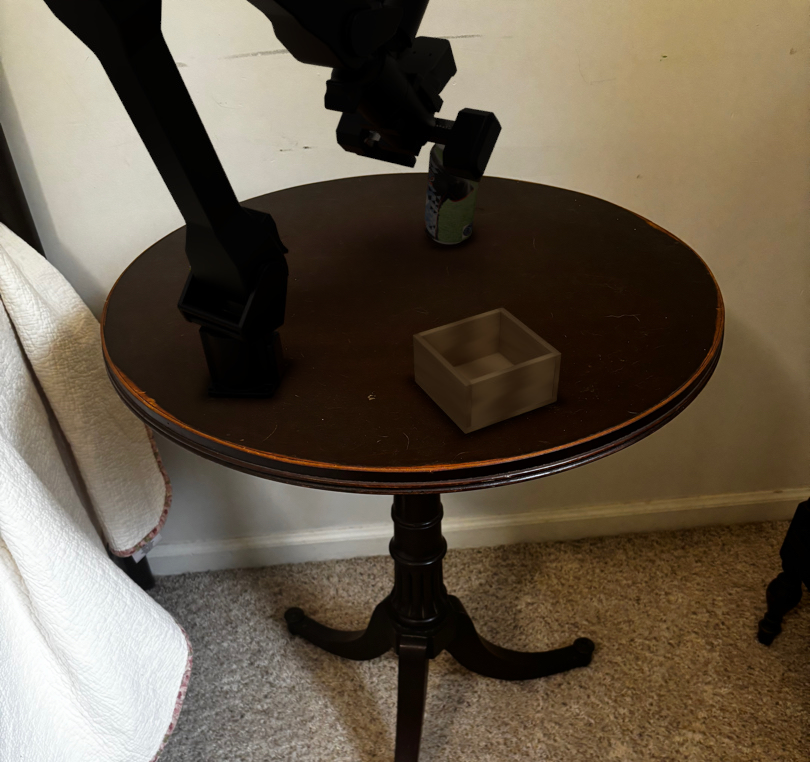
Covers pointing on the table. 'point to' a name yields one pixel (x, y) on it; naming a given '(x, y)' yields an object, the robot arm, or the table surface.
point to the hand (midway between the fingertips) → (446, 170)
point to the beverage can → (448, 202)
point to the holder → (486, 369)
